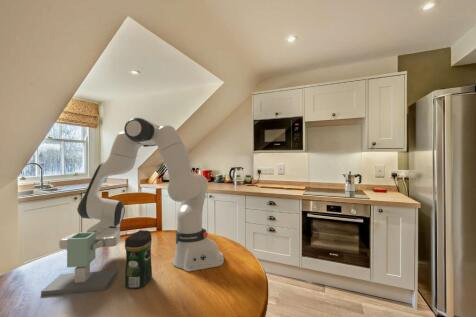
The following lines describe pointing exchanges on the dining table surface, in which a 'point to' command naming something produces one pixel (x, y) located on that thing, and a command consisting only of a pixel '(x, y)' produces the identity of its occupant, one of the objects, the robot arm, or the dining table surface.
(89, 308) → the dining table surface
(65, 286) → the stub board
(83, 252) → the mint green pencil cup
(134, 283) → the coffee jar
